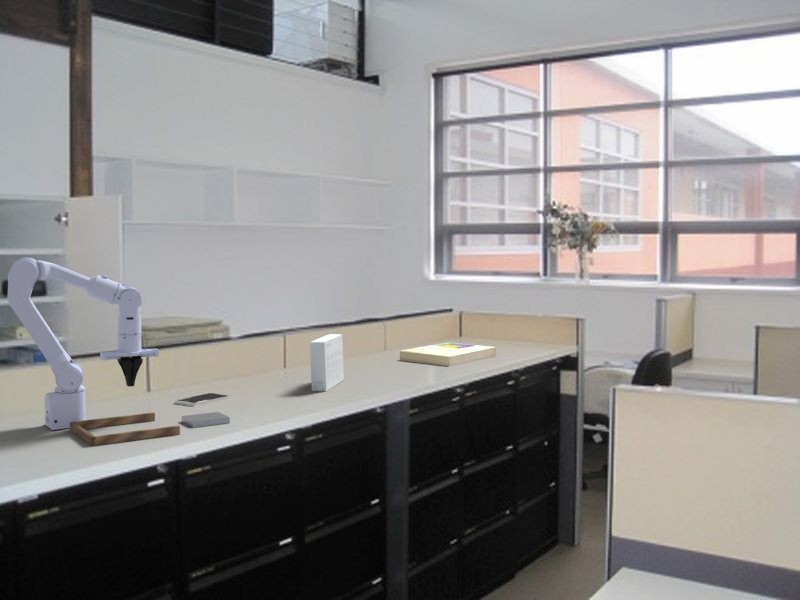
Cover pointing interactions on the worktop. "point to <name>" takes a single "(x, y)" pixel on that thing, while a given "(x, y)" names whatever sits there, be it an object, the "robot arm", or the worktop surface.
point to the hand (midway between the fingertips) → (130, 385)
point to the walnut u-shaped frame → (92, 440)
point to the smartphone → (201, 399)
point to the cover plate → (205, 419)
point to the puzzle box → (447, 354)
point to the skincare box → (326, 362)
